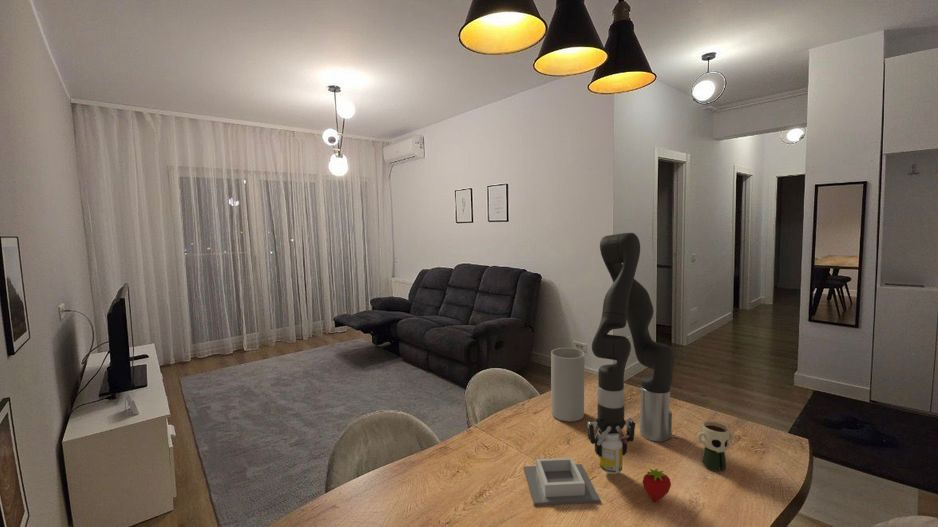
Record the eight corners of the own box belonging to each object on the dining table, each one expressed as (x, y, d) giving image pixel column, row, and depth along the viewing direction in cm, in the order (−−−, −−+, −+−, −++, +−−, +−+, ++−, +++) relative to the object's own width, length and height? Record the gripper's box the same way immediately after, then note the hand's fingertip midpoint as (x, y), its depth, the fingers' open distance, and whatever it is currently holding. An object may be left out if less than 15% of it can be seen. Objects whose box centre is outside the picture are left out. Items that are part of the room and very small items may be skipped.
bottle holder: (581, 466, 124) (581, 453, 124) (600, 502, 108) (600, 487, 108) (523, 468, 124) (523, 455, 123) (533, 505, 108) (533, 490, 107)
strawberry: (676, 506, 106) (677, 470, 105) (651, 511, 104) (652, 475, 103) (660, 491, 112) (661, 457, 111) (636, 496, 110) (637, 462, 109)
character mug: (704, 475, 119) (706, 433, 117) (689, 461, 126) (691, 421, 124) (739, 472, 119) (741, 431, 118) (722, 458, 126) (724, 419, 125)
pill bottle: (618, 461, 123) (619, 425, 122) (625, 475, 117) (625, 437, 115) (597, 461, 124) (597, 425, 122) (602, 474, 117) (602, 437, 116)
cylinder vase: (587, 422, 151) (588, 358, 148) (554, 422, 151) (554, 358, 148) (579, 407, 163) (579, 347, 161) (548, 407, 163) (548, 348, 161)
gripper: (629, 394, 122) (628, 445, 124) (582, 396, 121) (582, 448, 123) (640, 405, 114) (640, 460, 116) (591, 408, 114) (591, 463, 116)
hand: (610, 454), depth 120 cm, fingers closed on pill bottle, 6 cm apart
